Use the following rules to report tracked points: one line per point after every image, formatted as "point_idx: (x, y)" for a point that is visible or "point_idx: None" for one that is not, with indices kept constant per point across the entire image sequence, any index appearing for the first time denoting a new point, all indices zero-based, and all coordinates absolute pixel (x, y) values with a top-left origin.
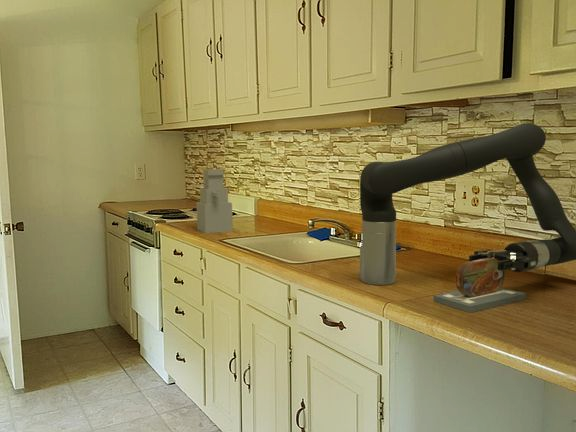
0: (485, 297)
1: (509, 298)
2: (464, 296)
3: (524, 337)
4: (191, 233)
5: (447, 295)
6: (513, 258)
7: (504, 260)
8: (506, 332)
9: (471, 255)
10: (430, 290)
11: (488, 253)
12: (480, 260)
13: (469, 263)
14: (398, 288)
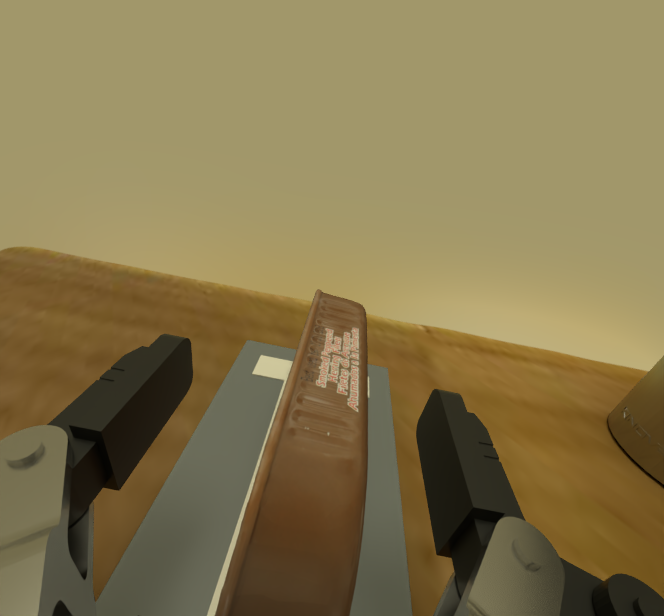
0: (246, 449)
1: (127, 551)
2: None
3: (80, 292)
4: None
5: None
6: (3, 519)
7: (141, 377)
8: (125, 298)
9: (451, 396)
10: (516, 490)
11: (465, 614)
12: (329, 357)
13: (326, 296)
14: (562, 432)
